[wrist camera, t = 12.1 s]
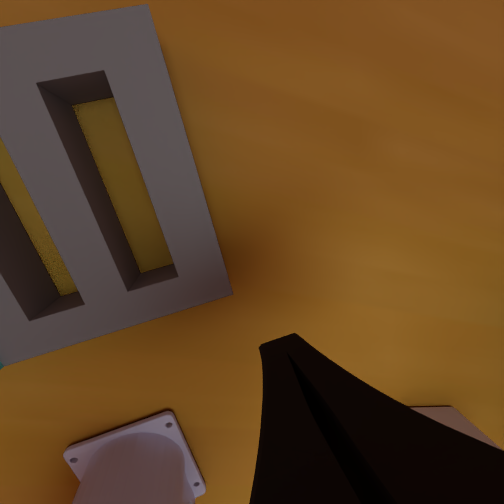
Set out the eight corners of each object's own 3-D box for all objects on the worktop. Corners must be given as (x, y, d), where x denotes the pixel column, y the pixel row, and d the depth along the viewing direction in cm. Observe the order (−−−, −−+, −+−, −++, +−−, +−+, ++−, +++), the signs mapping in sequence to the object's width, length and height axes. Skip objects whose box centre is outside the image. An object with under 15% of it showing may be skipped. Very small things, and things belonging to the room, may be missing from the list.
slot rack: (227, 276, 17) (233, 296, 14) (-59, 363, 15) (-127, 410, 12) (159, 43, 13) (146, -2, 10) (-250, 115, 11) (-429, 87, 8)
